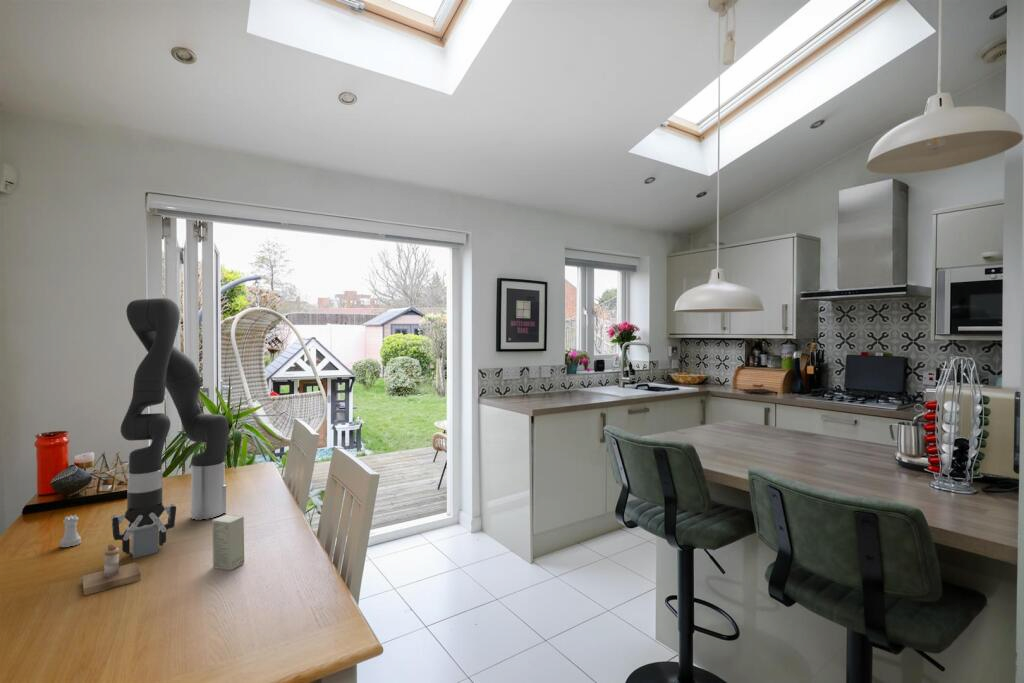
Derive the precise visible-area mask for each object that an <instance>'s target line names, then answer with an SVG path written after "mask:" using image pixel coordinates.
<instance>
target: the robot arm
mask: <svg viewBox="0 0 1024 683" xmlns="http://www.w3.org/2000/svg"><path fill="white" fill-rule="evenodd" d="M180 312H181V311H180V308H179V306H178V304H177V303H176V301H174V300H173V299H171V298H163V297H162V298H145V299H144V298H143V299H142V298H141V299H135V300H132V301H130V302H129V303H128V305H127V307H126V317H127V321H128V323H129V325H130V327H131V329H132V330H133V332H134V333H135V335H136V336H137V337H138V339H139V341H140V342H141V344H142V345H143V346H144V348H145V350H146V351H147V354H146V355H145V356H144V358H143V360H141V361H140V364H139V365H138V366H137V368H136V371H135V373H134V378H133V388H132V397H131V401H130V403H129V405H128V406H129V407H128V408H127V411H126V414H125V415H124V418H123V420H122V422H121V425H120V433H121V436H122V437H123V439H125V441H130V442H132V441H149V440H150V441H151V444H150V445H149V446H145V447H141V448H138V449H137V448H136V449H134V450H132V451H131V452H130V453H129V457H128V462H129V463H128V478H127V489H126V491H127V492H126V493H127V495H126V496H127V498H126V500H127V501H126V503H127V504H126V510H125V512H124V513H122V514H119V515H116V514H114V515H112V516H111V527H112V528H111V530H112V537H113V540H114V541H121V550H122V553H125V555H130V552H131V538H130V537H131V534H132V532H134V530H135V528H136V527H142V526H144V525H152V524H153V523H155V524H156V525H157V527H158V528H159V533H158V547H162V546H164V544H166V542H167V531H168V530H169V529H172V528H174V527H175V522H176V514H177V506H176V505H175V504H174V503H171V504H170V505H164V504H163V485H164V480H163V479H164V478H163V476H164V475H163V471H162V470H163V468H162V466H163V464H162V463H163V451H164V447H165V442H166V439H167V437H168V435H169V432H170V428H171V418H169V416H168V415H167V414H165V413H161V412H160V413H143V412H144V410H145V409H146V408H148V407H151V406H156V405H160V404H162V403H163V402H164V401H165V395H166V390H167V392H168V393H169V395H170V397H171V399H172V402H173V404H174V406H175V409H176V410H177V414H178V416H179V419H180V422H181V425H182V428H183V430H184V433H185V435H186V437H187V438H188V440H190V441H191V442H194V443H202V444H203V443H206V445H205V450H204V451H201V452H199V453H196V454H194V455H192V457H191V484H190V489H191V491H190V492H191V493H190V494H191V496H190V498H191V499H190V501H191V502H190V519H191V518H192V519H191V520H193V519H195V520H194V521H203V520H202V519H206V520H209V519H208V518H212V519H214V518H213V517H216V516H218V515H221V514H223V513H226V514H227V484H225V477H226V476H225V473H226V472H225V471H226V470H225V469H226V468H225V467H226V466H225V465H226V463H225V462H226V454H227V451H228V445H229V444H228V442H229V441H228V440H229V429H230V428H229V422H228V419H227V417H226V416H225V415H223V414H215V413H212V414H211V413H208V414H207V413H204V412H202V410H201V408H200V406H199V404H198V397H199V393H200V390H201V386H202V378H201V375H200V373H199V370H198V368H197V366H196V364H195V362H194V361H193V360H192V358H191V357H190V356H188V355H187V354H186V353H185V352H183V351H182V350H180V349H179V348H178V347H177V346H175V345H174V344H175V339H176V337H177V333H178V330H179V324H180V320H181V319H180V316H181V315H180V314H181V313H180ZM164 511H165V513H166V514H167V515H168V516H167V523H165V524H163V522H162V520H161V519H160V517H161V515H162V514H163V513H164ZM223 515H224V514H223ZM221 516H222V515H221ZM216 518H217V517H216ZM124 519H126V520H127V521H128V525H127V526H126V528H125V530H124V531H123V533H121V532H120V524H122V523H123V520H124Z"/></svg>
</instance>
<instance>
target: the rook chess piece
mask: <svg viewBox="0 0 1024 683" xmlns="http://www.w3.org/2000/svg"><path fill="white" fill-rule="evenodd" d="M78 520H80V519H79V517H78V515H77V514H73V515H71V514H70V515H69V516H68V515H67V516H65V517H64V519H63V521H62V522H63V523H64V524H65V525H64V526H63V527H64V534H63V536H62V537H61V538H62V539H61V540H60V542H59V543H60V545H59V547H60V548H61V547H70V546H74V547H76V546H75V545H77V546H79V545H80V544H81V543H82V540H81V539H82V538H81V536H80V533H78V528H77V527H78V526H77V525H79V524H78ZM78 544H79V545H78ZM70 548H71V547H70Z"/></svg>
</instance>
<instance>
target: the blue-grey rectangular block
mask: <svg viewBox="0 0 1024 683" xmlns="http://www.w3.org/2000/svg"><path fill="white" fill-rule="evenodd" d="M159 531H160V529H159V528H158V527H157V525H156V524H155V523H153V524H152V525H144V526H142V527H136V528H135V530H134V532H132V534H131V535H130V537H131V538H130V552H131V555H132V557H133V559H137V558H143V557H146V556H149V555H153V554H158V553H159Z"/></svg>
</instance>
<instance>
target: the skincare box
mask: <svg viewBox="0 0 1024 683" xmlns="http://www.w3.org/2000/svg"><path fill="white" fill-rule="evenodd" d="M244 518H245V517H244V516H241V515H234V514H227V513H226V514H223V515H221V516H219V517H216V518H212V519H211V521H212V522H211V525H212V529H211V530H212V567H213V568H216V569H220V570H226V571H232V570H233V569H236V568H238V567H241V565H243V564H245V529H244V528H245V524H244V523H245V522H244V521H245V519H244Z"/></svg>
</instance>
